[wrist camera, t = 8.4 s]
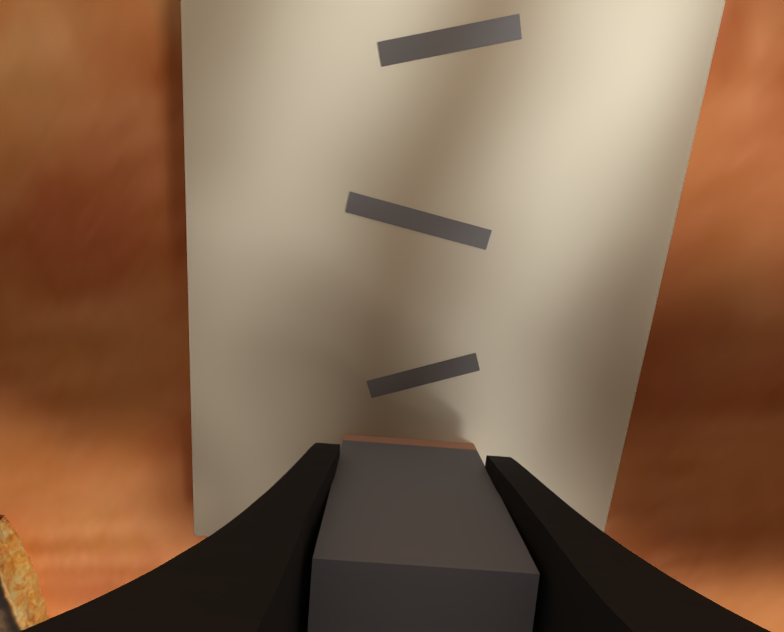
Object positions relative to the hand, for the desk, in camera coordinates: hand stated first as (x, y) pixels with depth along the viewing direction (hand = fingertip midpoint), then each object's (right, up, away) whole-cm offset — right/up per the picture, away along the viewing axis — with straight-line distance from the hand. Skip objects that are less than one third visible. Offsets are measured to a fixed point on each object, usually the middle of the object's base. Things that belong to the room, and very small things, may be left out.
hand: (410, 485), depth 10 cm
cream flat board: (0, +6, +1) cm, 6 cm away
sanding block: (0, -2, +2) cm, 3 cm away
